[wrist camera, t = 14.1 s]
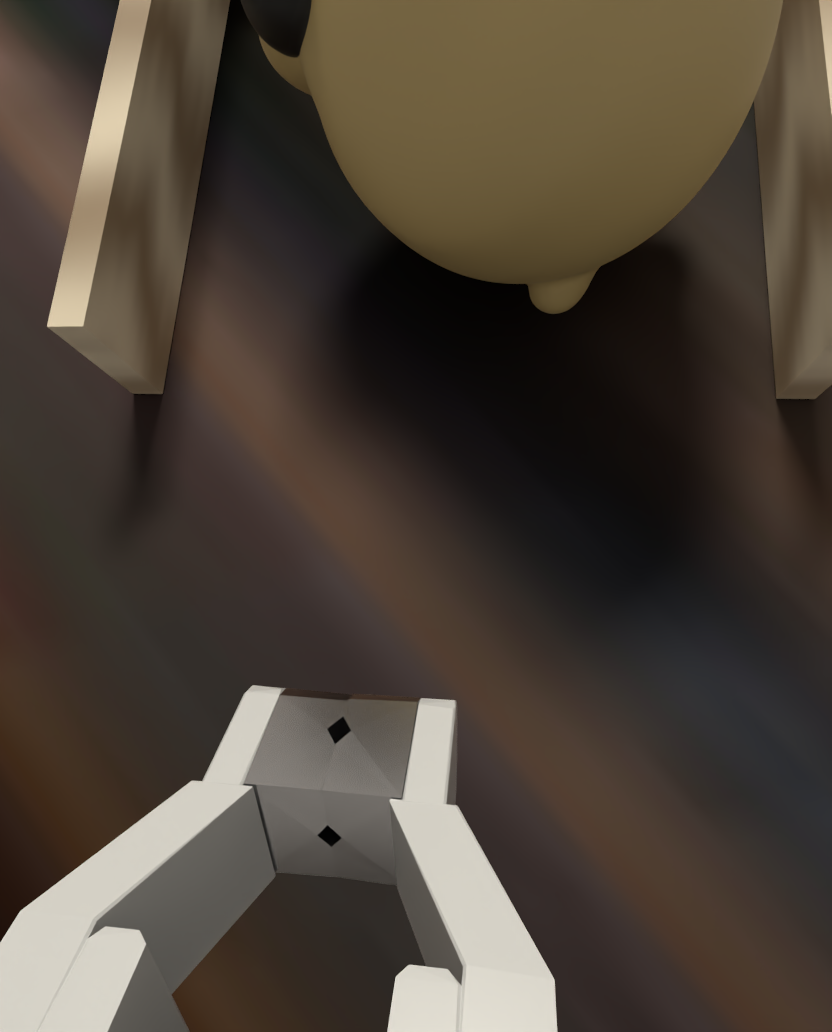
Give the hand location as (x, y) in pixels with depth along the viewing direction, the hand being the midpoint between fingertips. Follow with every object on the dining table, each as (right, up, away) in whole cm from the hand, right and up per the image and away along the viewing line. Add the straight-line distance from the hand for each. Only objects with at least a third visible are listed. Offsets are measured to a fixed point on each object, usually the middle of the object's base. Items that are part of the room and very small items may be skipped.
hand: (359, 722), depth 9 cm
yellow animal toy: (+3, +13, +11) cm, 18 cm away
